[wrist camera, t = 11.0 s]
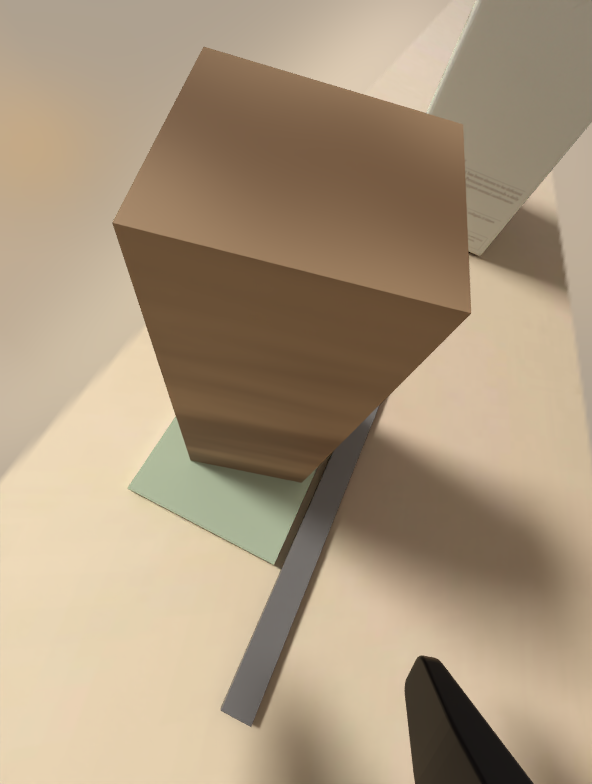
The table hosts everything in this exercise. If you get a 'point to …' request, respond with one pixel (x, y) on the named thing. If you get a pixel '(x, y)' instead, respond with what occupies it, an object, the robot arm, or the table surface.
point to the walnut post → (292, 258)
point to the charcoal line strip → (293, 581)
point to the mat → (221, 496)
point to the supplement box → (516, 101)
